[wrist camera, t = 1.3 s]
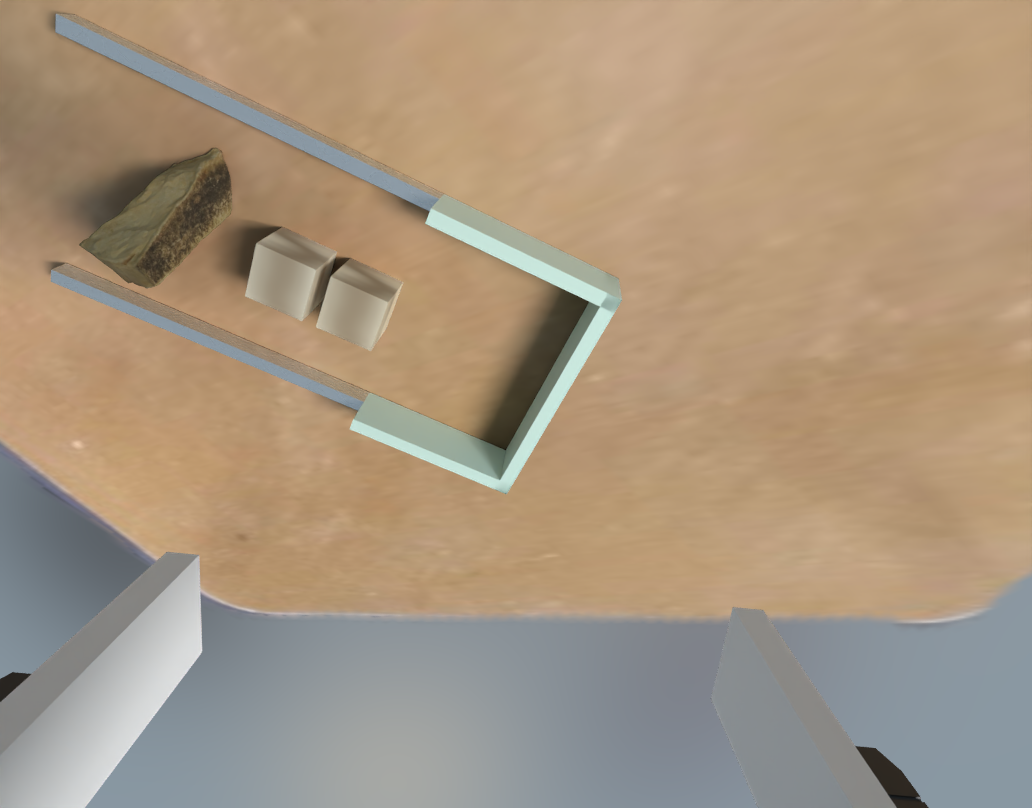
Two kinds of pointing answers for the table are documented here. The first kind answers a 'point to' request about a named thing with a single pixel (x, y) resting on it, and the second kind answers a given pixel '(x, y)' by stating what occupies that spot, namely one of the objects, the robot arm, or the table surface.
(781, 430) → the table surface
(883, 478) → the table surface
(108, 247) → the rock
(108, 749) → the robot arm
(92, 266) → the table surface
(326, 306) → the beige cube
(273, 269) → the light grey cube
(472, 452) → the tray pen
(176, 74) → the slot rails
